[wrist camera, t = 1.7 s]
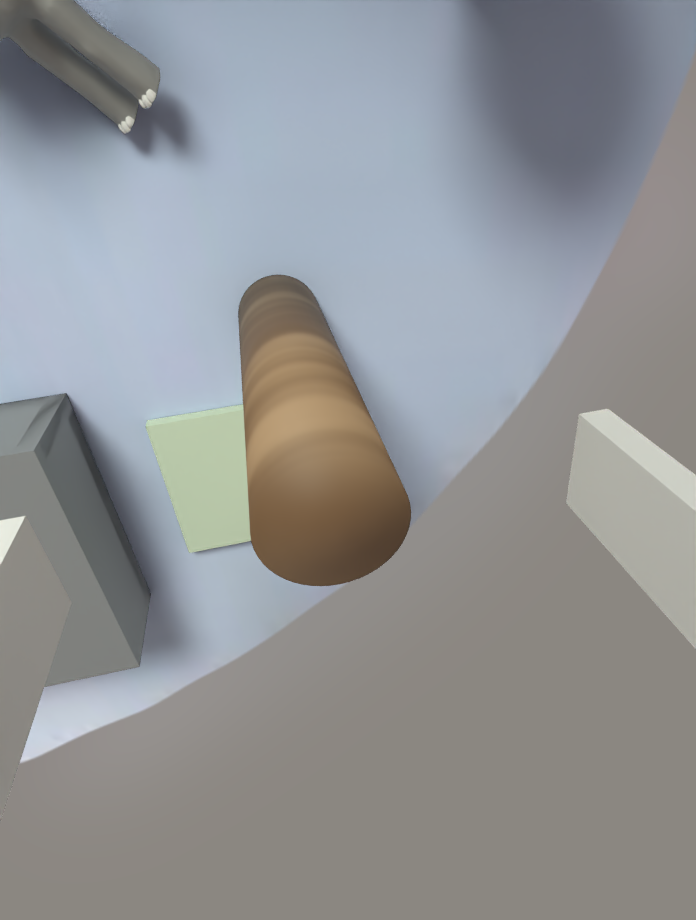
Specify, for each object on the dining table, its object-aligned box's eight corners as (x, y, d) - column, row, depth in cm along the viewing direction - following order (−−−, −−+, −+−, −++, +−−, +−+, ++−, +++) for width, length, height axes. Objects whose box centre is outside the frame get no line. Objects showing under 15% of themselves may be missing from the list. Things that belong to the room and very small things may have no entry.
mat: (147, 420, 26) (145, 426, 26) (313, 392, 27) (314, 397, 26) (189, 545, 30) (189, 552, 30) (331, 518, 31) (332, 525, 31)
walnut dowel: (230, 281, 23) (234, 475, 11) (313, 268, 24) (408, 444, 11) (247, 359, 25) (265, 599, 13) (323, 347, 26) (412, 568, 13)
